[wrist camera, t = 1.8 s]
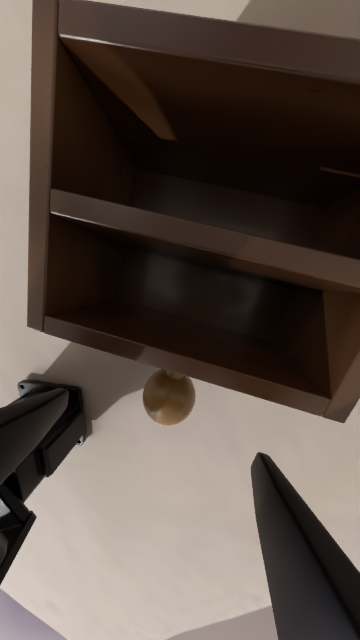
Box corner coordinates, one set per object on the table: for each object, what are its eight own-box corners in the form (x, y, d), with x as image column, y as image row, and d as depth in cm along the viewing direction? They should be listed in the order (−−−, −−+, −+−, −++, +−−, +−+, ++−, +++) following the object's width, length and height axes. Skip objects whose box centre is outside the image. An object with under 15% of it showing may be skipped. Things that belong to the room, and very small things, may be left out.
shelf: (251, 399, 14) (294, 505, 7) (103, 354, 15) (24, 413, 8) (335, 202, 10) (566, 64, 4) (132, 159, 11) (30, -11, 5)
